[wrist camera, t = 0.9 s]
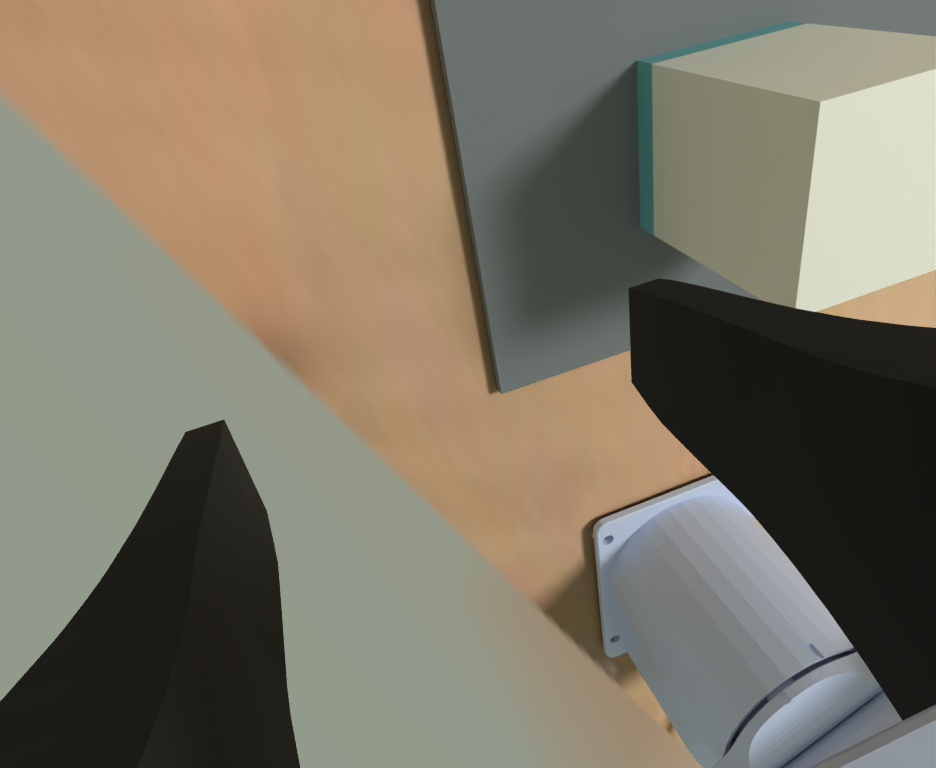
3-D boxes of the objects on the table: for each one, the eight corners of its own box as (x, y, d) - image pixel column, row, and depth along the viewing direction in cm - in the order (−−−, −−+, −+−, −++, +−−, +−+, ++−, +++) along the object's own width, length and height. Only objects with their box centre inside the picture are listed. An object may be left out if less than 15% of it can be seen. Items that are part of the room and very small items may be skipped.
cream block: (772, 186, 23) (961, 260, 17) (640, 227, 22) (794, 319, 16) (787, 21, 20) (1019, 44, 15) (636, 60, 19) (820, 101, 14)
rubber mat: (928, 241, 27) (936, 244, 27) (497, 388, 24) (501, 394, 24) (1023, -174, 20) (1037, -176, 20) (422, -45, 17) (427, -46, 16)
